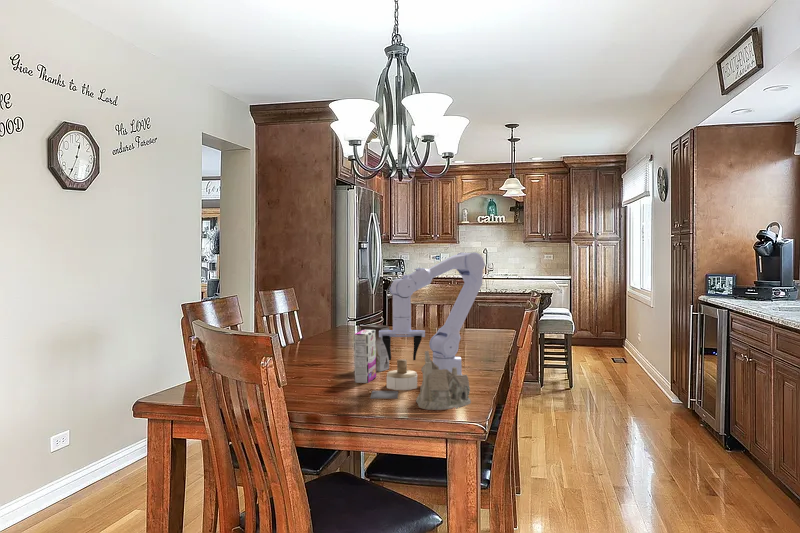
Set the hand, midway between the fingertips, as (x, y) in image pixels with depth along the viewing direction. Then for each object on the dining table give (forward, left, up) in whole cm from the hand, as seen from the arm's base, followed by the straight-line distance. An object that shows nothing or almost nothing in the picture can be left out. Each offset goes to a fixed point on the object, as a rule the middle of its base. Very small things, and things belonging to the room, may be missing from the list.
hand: (402, 359), depth 189 cm
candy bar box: (+13, -11, -9) cm, 19 cm away
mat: (+5, +11, -9) cm, 15 cm away
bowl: (0, 0, -9) cm, 9 cm away
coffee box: (+11, -31, -9) cm, 34 cm away
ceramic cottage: (-12, +21, -9) cm, 26 cm away
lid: (0, 0, -5) cm, 5 cm away
